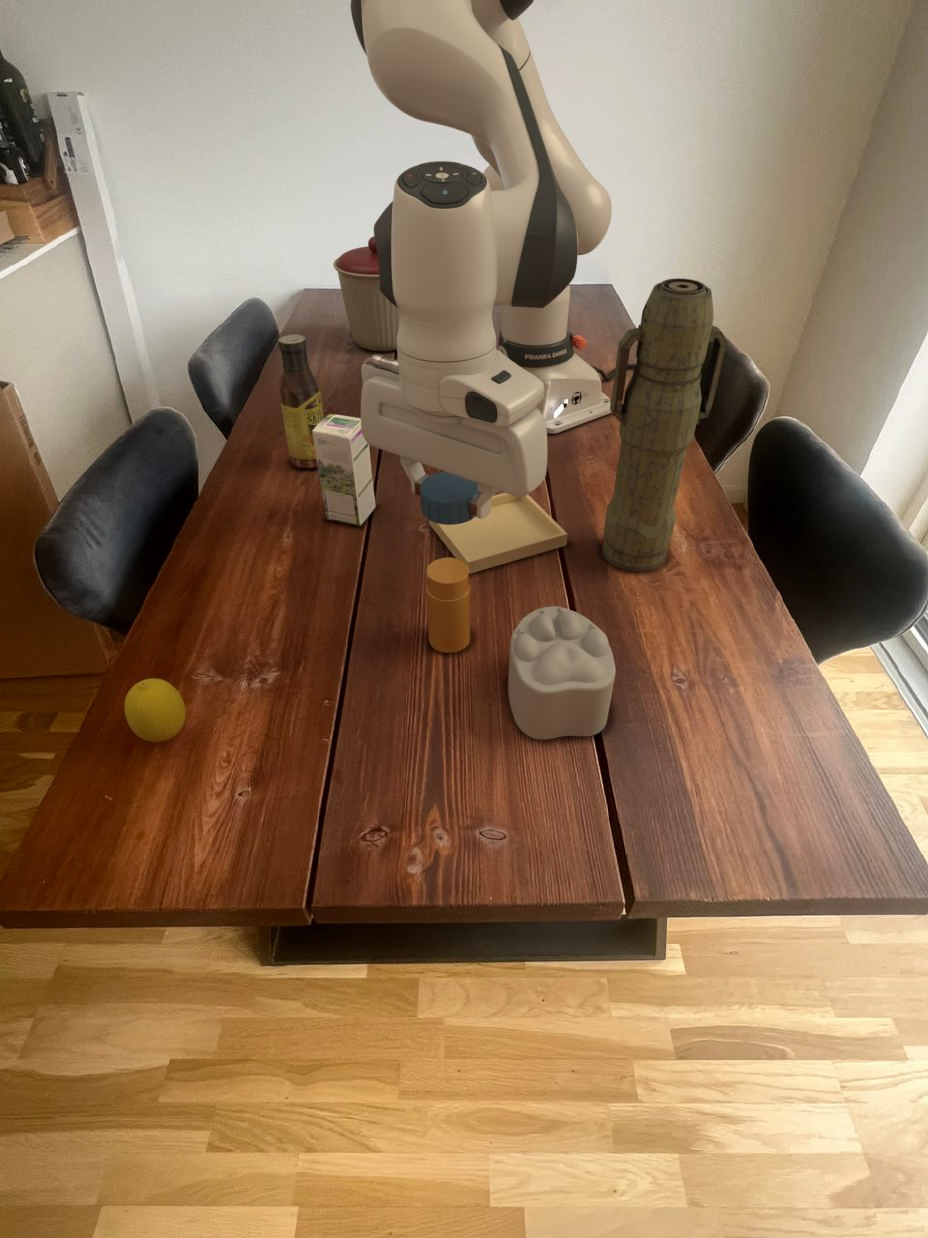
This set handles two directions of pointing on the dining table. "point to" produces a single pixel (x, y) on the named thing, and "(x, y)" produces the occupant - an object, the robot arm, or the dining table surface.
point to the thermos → (659, 418)
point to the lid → (447, 498)
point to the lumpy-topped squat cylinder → (559, 674)
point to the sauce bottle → (299, 401)
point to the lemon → (154, 710)
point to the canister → (367, 299)
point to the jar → (448, 604)
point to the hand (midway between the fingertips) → (450, 503)
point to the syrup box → (344, 469)
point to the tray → (502, 533)
